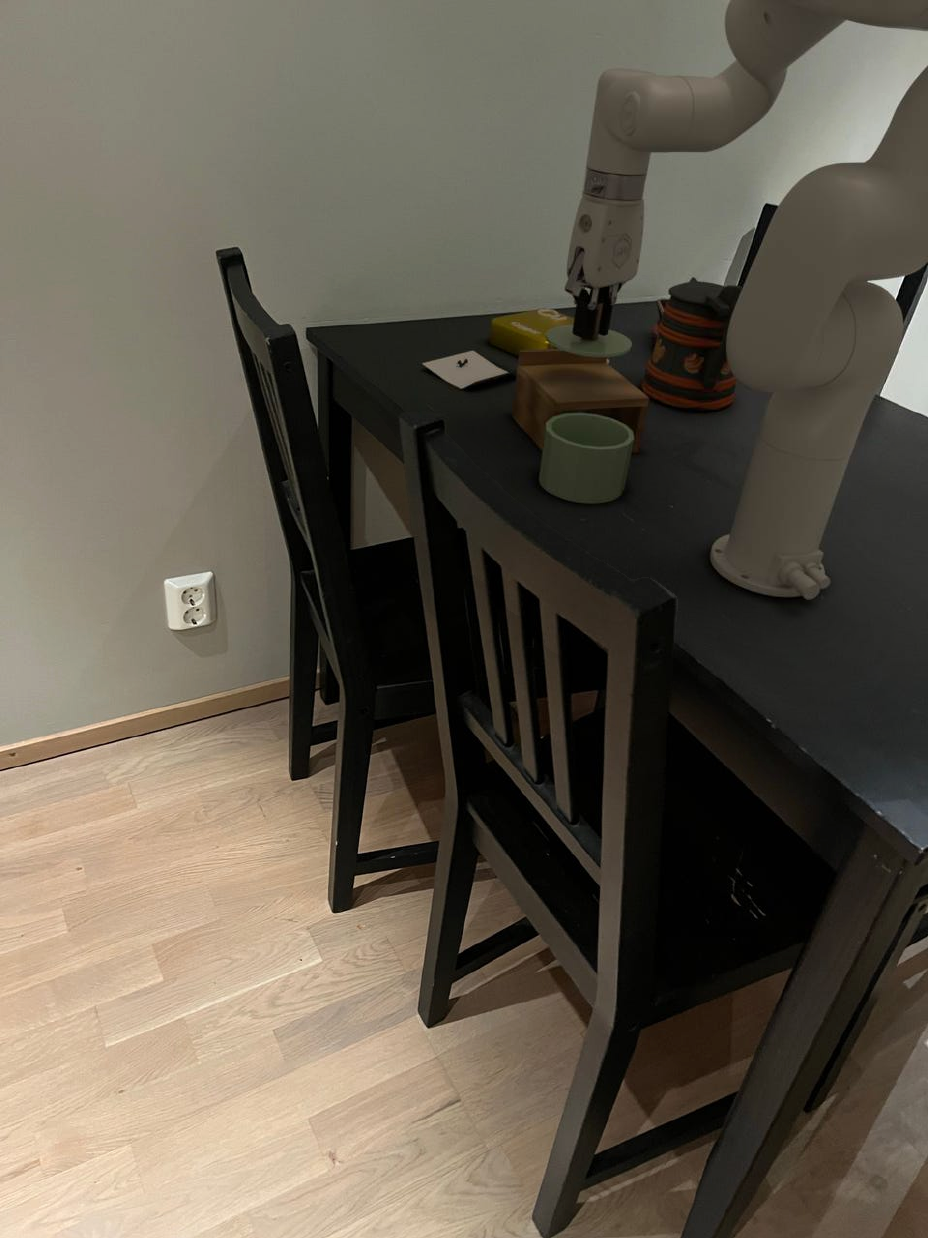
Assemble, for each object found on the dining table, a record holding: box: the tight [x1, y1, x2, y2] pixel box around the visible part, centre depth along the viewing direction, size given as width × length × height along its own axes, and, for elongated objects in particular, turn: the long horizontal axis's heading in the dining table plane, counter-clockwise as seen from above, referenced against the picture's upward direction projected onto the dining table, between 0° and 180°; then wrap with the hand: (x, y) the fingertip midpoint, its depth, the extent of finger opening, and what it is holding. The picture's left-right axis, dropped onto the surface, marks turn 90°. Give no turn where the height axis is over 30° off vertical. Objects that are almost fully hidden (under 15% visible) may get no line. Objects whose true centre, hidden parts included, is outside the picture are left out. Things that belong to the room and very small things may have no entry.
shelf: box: [511, 349, 650, 454], centre depth 129 cm, size 14×14×10 cm
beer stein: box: [641, 276, 743, 412], centre depth 141 cm, size 19×15×20 cm
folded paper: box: [421, 350, 517, 390], centre depth 148 cm, size 12×12×2 cm
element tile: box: [489, 307, 575, 358], centre depth 161 cm, size 15×15×5 cm
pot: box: [538, 412, 634, 505], centre depth 116 cm, size 11×11×7 cm
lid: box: [546, 299, 633, 358], centre depth 122 cm, size 12×12×6 cm
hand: (590, 333), depth 123 cm, fingers closed on lid, 2 cm apart
